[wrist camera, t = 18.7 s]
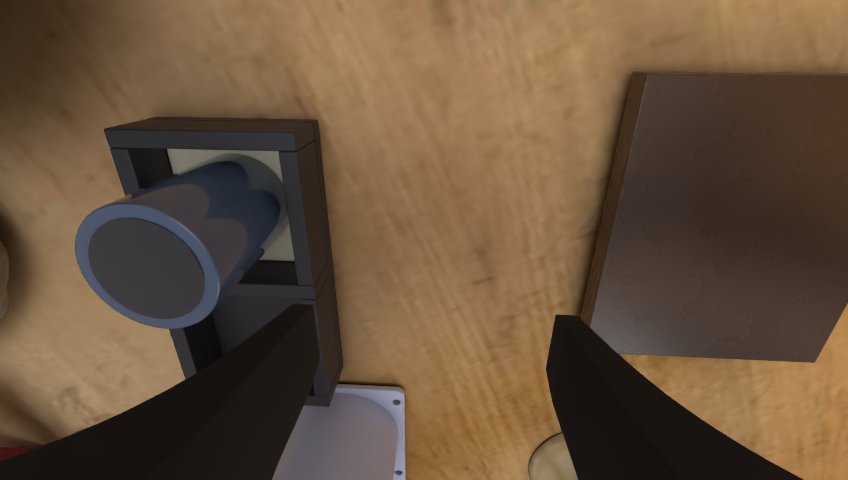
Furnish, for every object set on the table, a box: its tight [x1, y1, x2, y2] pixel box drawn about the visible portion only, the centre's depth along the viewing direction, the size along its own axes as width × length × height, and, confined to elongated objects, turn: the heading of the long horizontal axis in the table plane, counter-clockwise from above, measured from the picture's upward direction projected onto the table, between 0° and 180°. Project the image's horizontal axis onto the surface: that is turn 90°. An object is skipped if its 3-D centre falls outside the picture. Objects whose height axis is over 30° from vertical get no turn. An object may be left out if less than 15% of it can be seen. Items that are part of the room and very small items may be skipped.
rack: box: [104, 117, 343, 407], centre depth 21 cm, size 15×8×3 cm, turn 0°
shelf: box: [580, 72, 848, 363], centre depth 19 cm, size 14×12×2 cm
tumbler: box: [75, 153, 289, 329], centre depth 17 cm, size 5×5×7 cm
